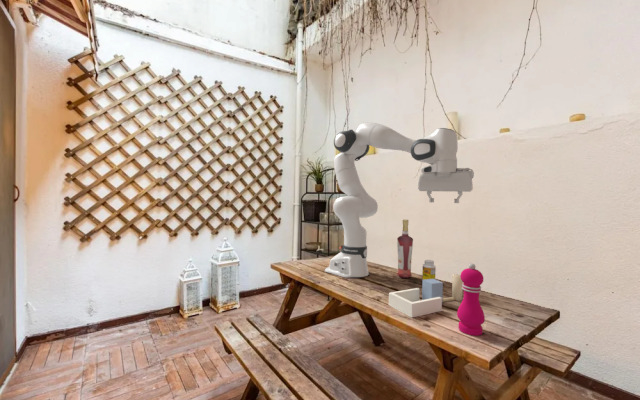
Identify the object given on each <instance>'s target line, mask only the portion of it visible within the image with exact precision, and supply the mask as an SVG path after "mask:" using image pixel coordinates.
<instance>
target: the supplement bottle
mask: <svg viewBox="0 0 640 400" xmlns="http://www.w3.org/2000/svg"><path fill="white" fill-rule="evenodd" d="M436 272H437V269H436V265H435V261H434V259H433V260H432V259H424V263H423V264H422V274H421V275H422V278H421V280H425V279H435V280H436Z"/></svg>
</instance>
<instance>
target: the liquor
mask: <svg viewBox="0 0 640 400" xmlns="http://www.w3.org/2000/svg"><path fill="white" fill-rule="evenodd" d="M401 233H402V234H401V235H400V236H398V237H397V239H396V240H397V243H396V244H397V272H396V274H397V276H398V277H399V278H401V279H409V278H410V277H412V273H411V271H412V260H413V259H412V257H413V247H414V246H413V245H414V244H413V242H414V238H413V237H411V235H409V219H402V232H401Z"/></svg>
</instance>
